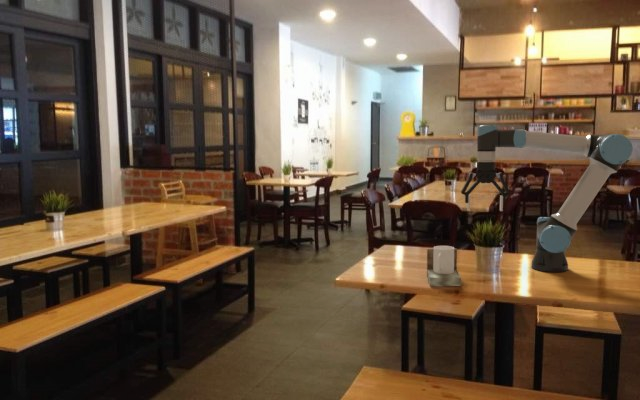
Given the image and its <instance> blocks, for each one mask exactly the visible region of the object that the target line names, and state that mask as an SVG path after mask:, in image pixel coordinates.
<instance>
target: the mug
mask: <svg viewBox="0 0 640 400" xmlns="http://www.w3.org/2000/svg"><path fill="white" fill-rule="evenodd" d="M433 248H434V253H433V271H434V272H435V273H437V274H452V273H453V272H454V248H455V247H454V246H450V245H436V246H435V245H434V246H433Z"/></svg>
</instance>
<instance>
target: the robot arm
mask: <svg viewBox="0 0 640 400" xmlns="http://www.w3.org/2000/svg"><path fill="white" fill-rule="evenodd" d="M476 138H477V140H476V141H477V148H476V150H477V153H476V160H477V162H476V172H475V173H474V172H469V173H468V178H467V180H466V182H465V184H463V187H462V189H461V191H460V194H462V195H464V202H465V204H467V209H466V210H467V211H468V212H470V211H471V193H472V192H473V191H474V190H475V188H477V186H478V185H479V184H492V185H493V186H494V187H495V189H496V190H497V191H498V192H499V193H500V194H501V195H500V194H499V211H500V212H503V211H504V209H503V208H504V204H505V203H506V198H507V196H508V195H511V191H510V188H509V186H508V185H507V183H506V181H505V179H504V174H503V172H498V173H497V172H496V162H495V161H496V148H516V149H518V148H519V149H528V150H529V149H530V150H539V151H549V152H558V153H559V152H560V153H568V154H578V155H583V156H584V157H585V158H589V159H588V160H589V165H588V167H587V168H586V170H585V171H584V172H583V173H582V175H581V177H580V178H579V180H578V181H577V182H576V185H575V186H574V187H573V189H572V191H571V192H570V193H569V195H568V196H567V198H565V199H566V200H565V201H564V202H563V204H562V205H561V206H560V208H559V209H558V211H557V212H556V213H553V214H551V215H550V216H539V217H538V218H537V220H536V244H535V245H536V249H535V252H534V255H533V258H532V260H531V269H533V270H535V271H541V272H547V273H548V272H549V273H563V272H567V271H569V263H568V260H567V256H566V254H565V252H566V250H567V249H568V248H569V247H570V245H571V241H572V238H573V237H574V235H575V234H576V232H577V231H578V225H577V224H578V222H579V221H580V220H581V218H582V216H583V215H584V214H585V212H586V211H587V209H588V208H589V206H590V205H591V203H592V202H593V200H594V199H595V198H596V196H597V195H598V193H599V191H601V189H602V187H603V186H604V184H606V181H607V180H608V178H609V177H610V176H611V175H612V174H616V173H618V171H619V170H620V168H621V167H622V165H624V163H625V162H627V161H628V160H629V159H630V158H631V156H632V153H633V144H632V142H631V140H630V139H629V137H627V136H625V135H623V134H620V133H605V134H587V135H586V136H584V135H573V134H572V135H571V134H564V133H550V132H543V131H542V132H541V131H540V132H539V131H532V130H531V131H530V130H525V129H523V128H522V129H520V128H516V129H513V128H512V129H510V128H509V129H508V128H507V129H499V128H497V125H495V124H481V125H479V126H478V127H477V137H476ZM496 177H497V179H499V181H500V183H501V185H502V187H500V185H499V184H498V183H497V181H496V180H495V178H496ZM474 178H476V180H475V181H474V183H473V184H472V185H471V186H470V187H469V185H470V183H471V181H472V180H473V179H474ZM468 187H469V188H468ZM502 188H503V189H504V190H503V189H502Z"/></svg>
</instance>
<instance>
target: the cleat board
mask: <svg viewBox="0 0 640 400" xmlns="http://www.w3.org/2000/svg"><path fill="white" fill-rule="evenodd" d="M426 249H427V250H426V278H427V281H428V283H429V284H428V285H429V287H443V286H462V278H461V275H460V273H459V271H458V270H457V269H458V268H457V267H458V266H457V262H458V260H457V259H458V249H457V248H455V247H454V272H453V273H452V274H437V273H435V272H434V271H433V253H434V247H427V248H426Z"/></svg>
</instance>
